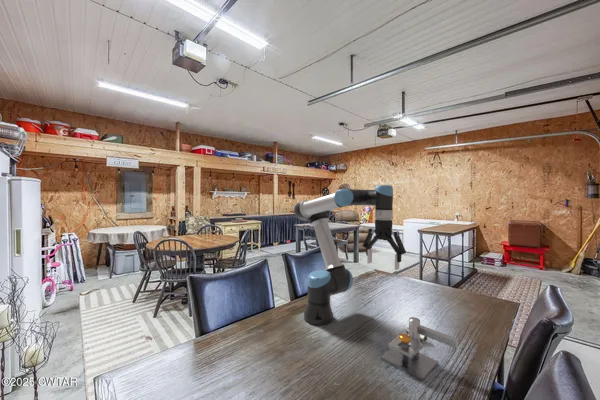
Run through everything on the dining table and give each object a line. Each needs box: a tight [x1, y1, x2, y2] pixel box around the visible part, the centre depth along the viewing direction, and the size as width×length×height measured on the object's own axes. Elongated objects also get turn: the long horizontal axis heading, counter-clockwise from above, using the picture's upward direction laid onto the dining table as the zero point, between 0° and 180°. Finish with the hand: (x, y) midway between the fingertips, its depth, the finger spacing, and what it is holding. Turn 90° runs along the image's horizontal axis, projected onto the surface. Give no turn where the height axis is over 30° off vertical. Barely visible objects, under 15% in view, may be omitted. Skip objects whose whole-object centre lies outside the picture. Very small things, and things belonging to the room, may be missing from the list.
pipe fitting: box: [405, 326, 428, 344], centre depth 114 cm, size 8×4×7 cm
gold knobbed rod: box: [398, 332, 411, 367], centre depth 96 cm, size 4×4×10 cm
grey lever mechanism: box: [380, 316, 459, 382], centre depth 96 cm, size 23×15×15 cm, turn 42°
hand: (382, 266), depth 117 cm, fingers open, 13 cm apart
